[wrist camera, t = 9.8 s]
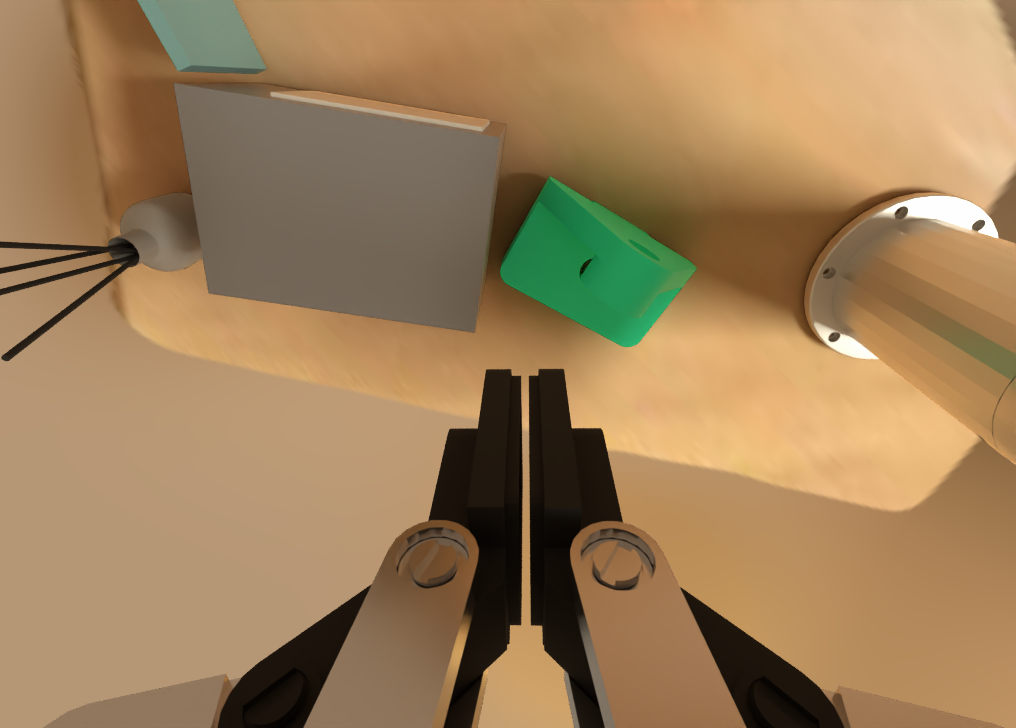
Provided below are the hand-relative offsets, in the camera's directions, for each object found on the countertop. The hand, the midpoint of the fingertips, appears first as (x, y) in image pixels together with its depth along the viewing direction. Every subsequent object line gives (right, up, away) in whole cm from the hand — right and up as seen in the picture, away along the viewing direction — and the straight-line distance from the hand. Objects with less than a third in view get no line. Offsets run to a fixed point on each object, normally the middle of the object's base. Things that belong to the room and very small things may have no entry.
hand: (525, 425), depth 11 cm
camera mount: (+6, +9, +26) cm, 28 cm away
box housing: (-9, +14, +24) cm, 29 cm away
